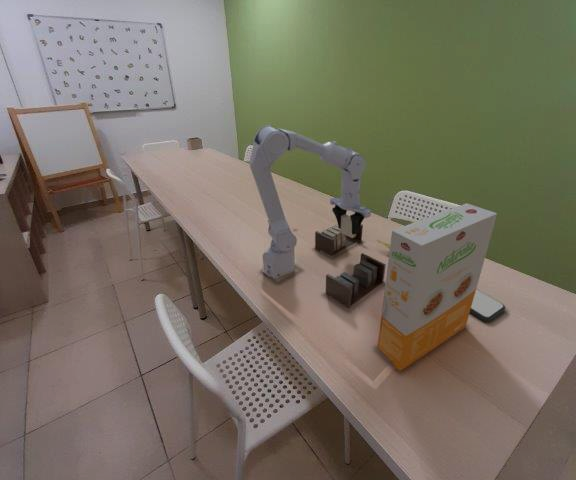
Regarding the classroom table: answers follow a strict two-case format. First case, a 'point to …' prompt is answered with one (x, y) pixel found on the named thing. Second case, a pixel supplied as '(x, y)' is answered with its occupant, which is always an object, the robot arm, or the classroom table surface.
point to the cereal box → (432, 281)
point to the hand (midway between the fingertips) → (348, 230)
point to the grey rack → (356, 281)
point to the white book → (346, 226)
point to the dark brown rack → (335, 240)
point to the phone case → (485, 307)
